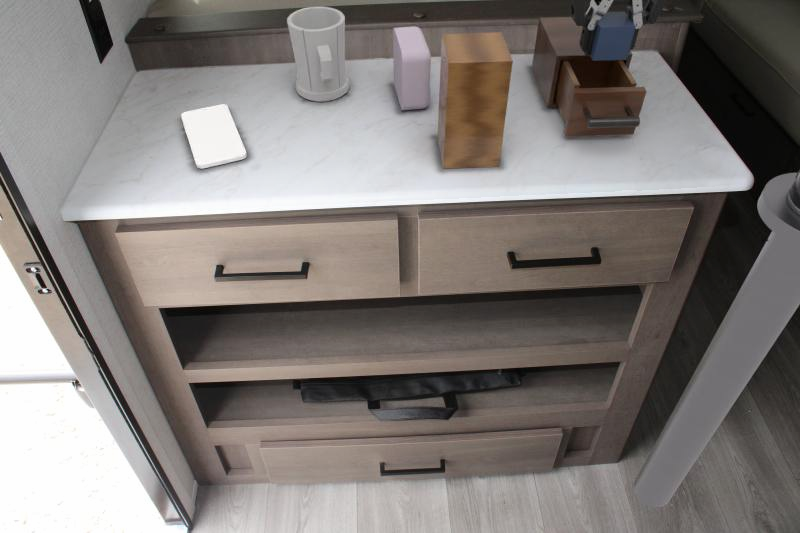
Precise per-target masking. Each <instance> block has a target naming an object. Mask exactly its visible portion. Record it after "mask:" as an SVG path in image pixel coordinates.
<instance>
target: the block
mask: <svg viewBox="0 0 800 533" xmlns="http://www.w3.org/2000/svg"><path fill="white" fill-rule="evenodd" d="M635 27H636V26H635V25H634V24H633V22H632V21H631V19H630V18H629V17H628V13H626V11H607V13H606V14H605V15H604V16H602V18H601V20H600V21H599V23H598V25H597V27H596V28H595V29H596V34H595V39H594V43H593V48H592V52H591V55H590V56H591V58H592V60H593V61H603V60H627V57H628V53H629V50H630V46H631V42H632V38H633V35H634V31H635ZM630 51H631V50H630Z"/></svg>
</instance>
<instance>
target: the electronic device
mask: <svg viewBox="0 0 800 533" xmlns="http://www.w3.org/2000/svg"><path fill="white" fill-rule="evenodd" d="M392 36H393V37H392V40H393V41H392V42H393V43H392V47H393V48H392V54H393V55H392V56H393V57H392V58H393V61H392V62H393V84H394V85H393V86H394V89H395V92H396V96H397V99H398V102H399V106H400V111H413V110H423V109H426V108H427V107H428V106H429V104H430V100H431V98H430V96H431V69H432V68H431V65H432V55H431V51H430V49H429V46H428V43H427V41H426V38H425V35H424V33H423V31H422V29H421V28H420V27H418V26H416V25H415V26H402V27H393V29H392Z"/></svg>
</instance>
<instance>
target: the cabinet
mask: <svg viewBox="0 0 800 533" xmlns="http://www.w3.org/2000/svg"><path fill="white" fill-rule="evenodd" d="M582 28H583V26H577V25H576V23H575V22H574V20H573V18H572V17H571V16H555V17H552V16H551V17H539V18H538V25H537V29H536V37H535V42H534V43H535V44H534V49H533V50H534V51H533V56H532V64H531V70H532V72H533V75H534V77H535V78H534V79H535V80H536V82H537V85H538V88H539V90H540V93H541V95H542V98H543V100H544V101H543V102H544V103H545V105H546V109H549V110H550V109H559V108H558V105H557V103H556V100H555V98H554V94H555V88H556V83H557V78H558V72H559V67H560V61H561V60H585V59H592V58H591V56H590V55H585V54H584V52H583V51H582V49H581V47H580V44H579V43H580V38H581V33H582ZM632 58H633V52H632V50H630V52H629V54H628V57H627V60H623V62H624V63H625V65H626V67H627V68H628V70H629V69H630V65H631V62H632Z"/></svg>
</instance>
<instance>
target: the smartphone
mask: <svg viewBox="0 0 800 533" xmlns="http://www.w3.org/2000/svg"><path fill="white" fill-rule="evenodd" d="M180 117H181V121H182V124H183V128H184V131H185V132H184V133H185V135H186V137H187V141H188V143H189V146H190V149H191V153H192V156H193V159H194V163H195V166H196V168H198V169H200V170H201V169H207V168H212V167H216V166H220V165H224V164H229V163H234V162H238V161H241V160H244V159H246V158H247V156H248V155H247V150H246V148H245V145H244V143H243V140H242V138H241V136H240V133H239V131H238V128H237V125H236V123H235V120H234V117H233V116H232V114H231V111H230V108H229V106H228V104H224V103H221V104H216V105H212V106H206V107H201V108H196V109H192V110H187V111H184V112H182V113H181V114H180Z"/></svg>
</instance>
